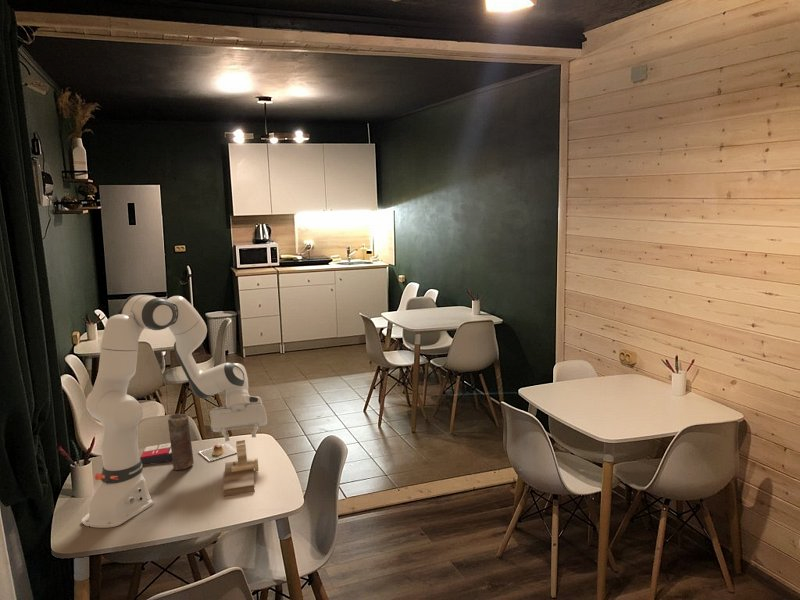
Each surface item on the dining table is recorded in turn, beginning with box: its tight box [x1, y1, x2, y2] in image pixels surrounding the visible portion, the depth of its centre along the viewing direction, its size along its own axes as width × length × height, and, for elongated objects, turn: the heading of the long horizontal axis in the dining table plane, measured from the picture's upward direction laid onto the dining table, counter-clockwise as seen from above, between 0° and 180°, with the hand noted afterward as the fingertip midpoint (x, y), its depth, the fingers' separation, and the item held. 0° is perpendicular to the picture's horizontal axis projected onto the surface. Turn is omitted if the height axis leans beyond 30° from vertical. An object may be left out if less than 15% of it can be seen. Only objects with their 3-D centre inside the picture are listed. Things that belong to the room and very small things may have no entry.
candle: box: [167, 413, 195, 471], centre depth 235 cm, size 8×7×20 cm
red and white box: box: [139, 442, 173, 465], centre depth 246 cm, size 11×4×15 cm
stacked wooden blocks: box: [231, 439, 259, 473], centre depth 227 cm, size 6×9×10 cm, turn 103°
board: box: [222, 458, 256, 497], centre depth 223 cm, size 22×10×2 cm, turn 13°
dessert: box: [198, 442, 237, 462], centre depth 247 cm, size 12×12×5 cm
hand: (240, 438), depth 230 cm, fingers open, 8 cm apart
